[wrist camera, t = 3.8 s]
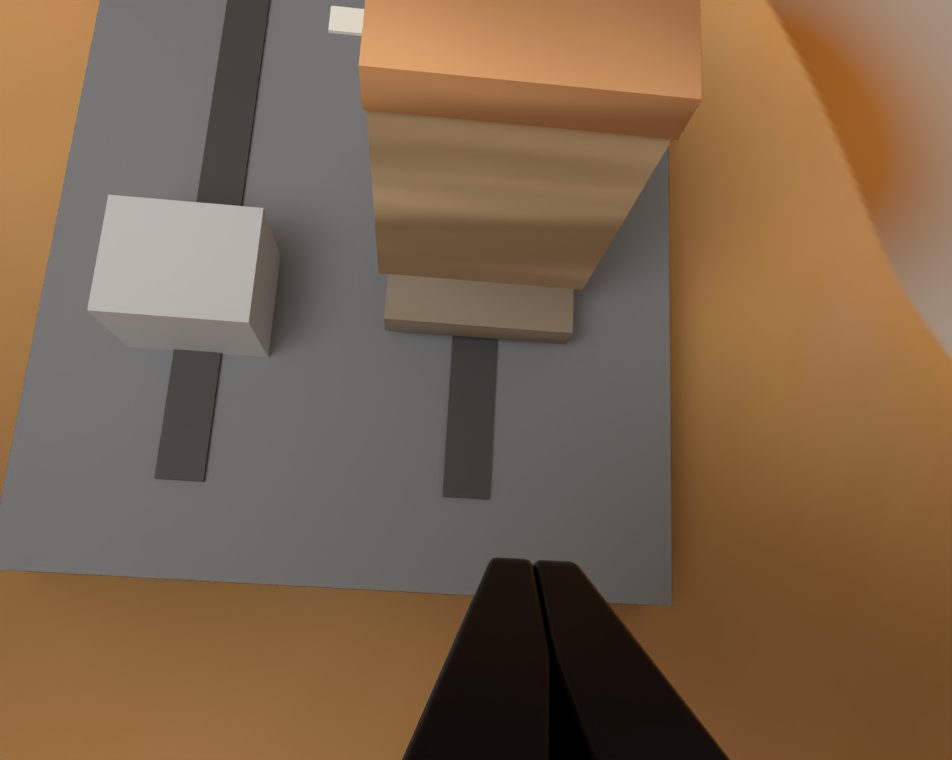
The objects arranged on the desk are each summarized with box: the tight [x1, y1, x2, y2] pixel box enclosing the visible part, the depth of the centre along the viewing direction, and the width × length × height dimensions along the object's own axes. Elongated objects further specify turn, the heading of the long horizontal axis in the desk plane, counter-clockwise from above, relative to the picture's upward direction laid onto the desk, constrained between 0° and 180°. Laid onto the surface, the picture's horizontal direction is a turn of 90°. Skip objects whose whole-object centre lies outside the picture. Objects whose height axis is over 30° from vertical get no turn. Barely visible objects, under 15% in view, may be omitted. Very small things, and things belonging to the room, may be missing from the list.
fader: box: [359, 0, 702, 344], centre depth 15 cm, size 5×4×8 cm
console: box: [0, 0, 672, 606], centre depth 19 cm, size 18×14×4 cm
